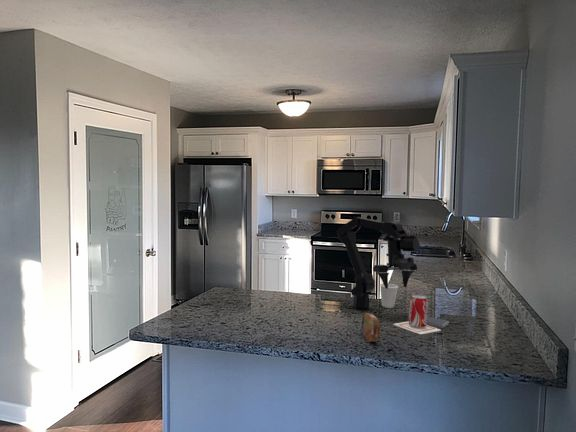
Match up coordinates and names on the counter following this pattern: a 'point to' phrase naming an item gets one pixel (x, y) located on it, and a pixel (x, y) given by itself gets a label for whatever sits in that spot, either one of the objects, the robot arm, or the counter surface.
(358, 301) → the robot arm
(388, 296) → the dixie cup
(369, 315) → the brown oval slab
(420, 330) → the print card
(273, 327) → the counter surface
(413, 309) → the soda can
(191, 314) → the counter surface
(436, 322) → the ink pad
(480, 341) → the counter surface
